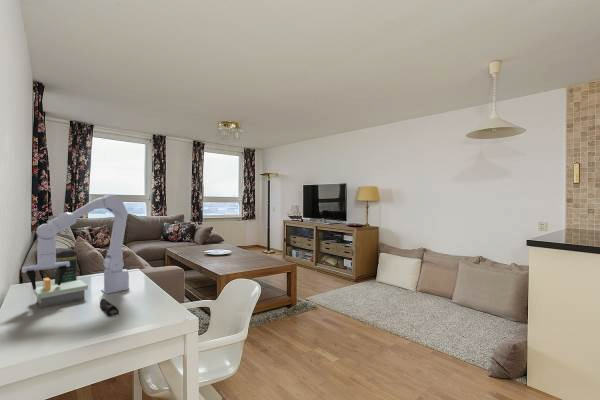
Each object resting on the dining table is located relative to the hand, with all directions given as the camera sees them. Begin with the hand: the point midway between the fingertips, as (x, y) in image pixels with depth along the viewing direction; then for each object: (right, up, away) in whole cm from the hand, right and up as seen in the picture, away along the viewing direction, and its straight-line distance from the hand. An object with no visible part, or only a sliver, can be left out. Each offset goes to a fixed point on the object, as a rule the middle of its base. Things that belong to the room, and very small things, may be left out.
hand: (46, 287), depth 121 cm
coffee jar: (-8, -7, +20) cm, 22 cm away
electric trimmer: (+29, -8, -7) cm, 31 cm away
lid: (+3, -3, +3) cm, 5 cm away
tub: (+3, -7, +3) cm, 8 cm away
